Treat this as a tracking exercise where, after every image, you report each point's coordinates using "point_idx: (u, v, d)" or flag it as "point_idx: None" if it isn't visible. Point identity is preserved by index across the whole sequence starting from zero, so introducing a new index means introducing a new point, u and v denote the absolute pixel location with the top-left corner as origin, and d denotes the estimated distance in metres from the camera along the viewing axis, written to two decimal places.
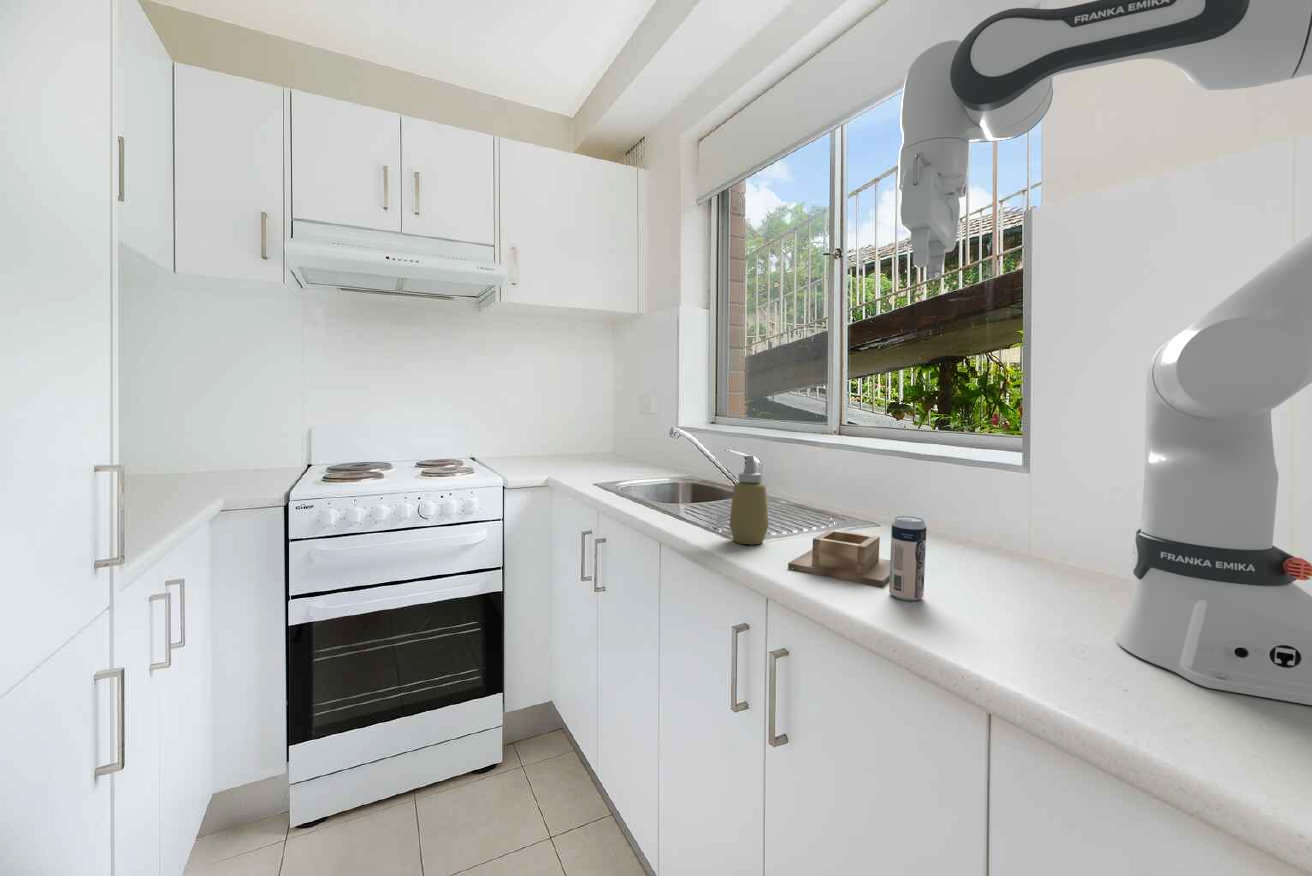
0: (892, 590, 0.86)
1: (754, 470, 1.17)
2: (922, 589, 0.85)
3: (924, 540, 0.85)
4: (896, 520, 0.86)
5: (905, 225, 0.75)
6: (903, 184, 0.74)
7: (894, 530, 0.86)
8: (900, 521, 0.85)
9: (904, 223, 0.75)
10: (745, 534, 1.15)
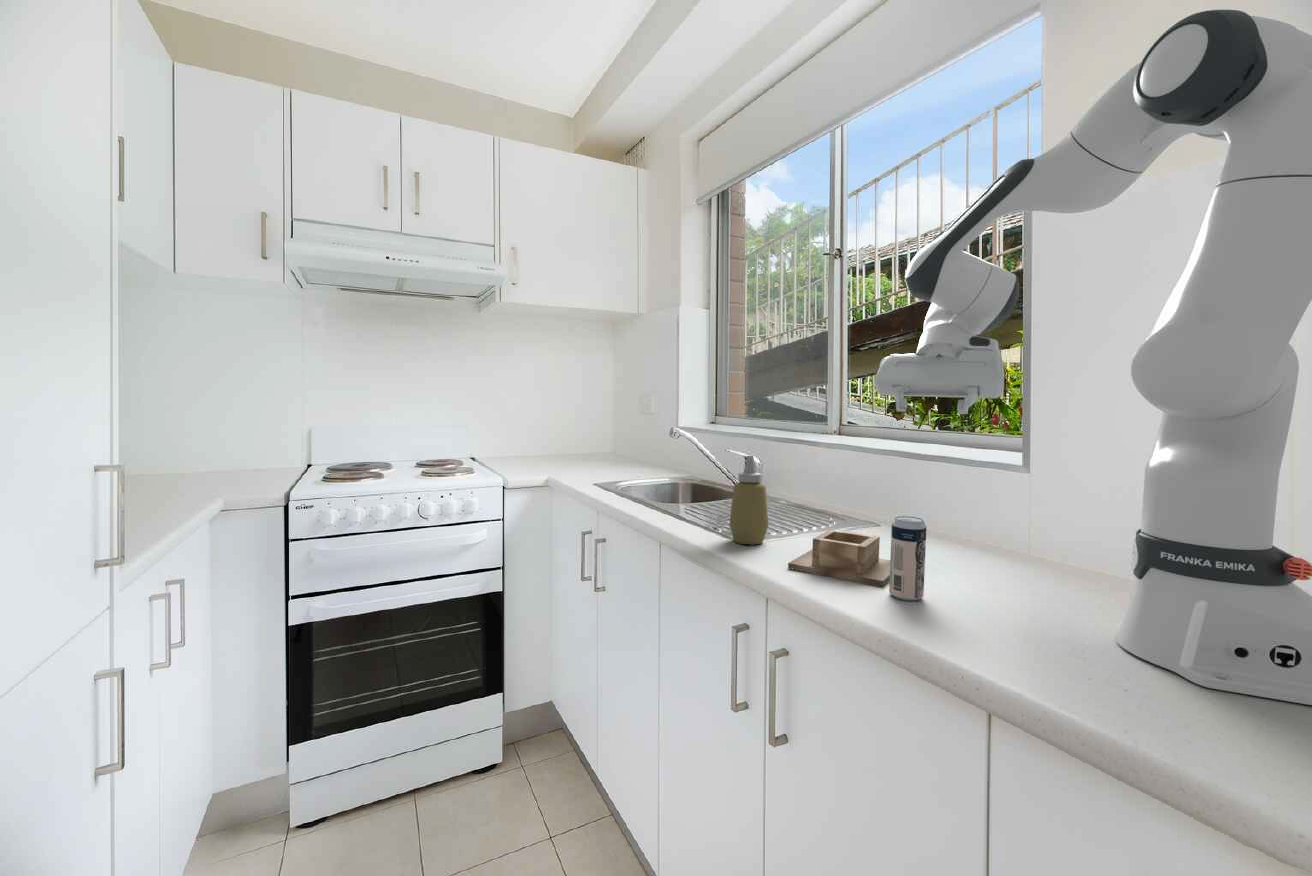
0: (892, 590, 0.86)
1: (754, 470, 1.17)
2: (922, 589, 0.85)
3: (924, 540, 0.85)
4: (896, 520, 0.86)
5: (882, 394, 1.04)
6: None
7: (894, 530, 0.86)
8: (900, 521, 0.85)
9: (879, 393, 1.05)
10: (745, 534, 1.15)
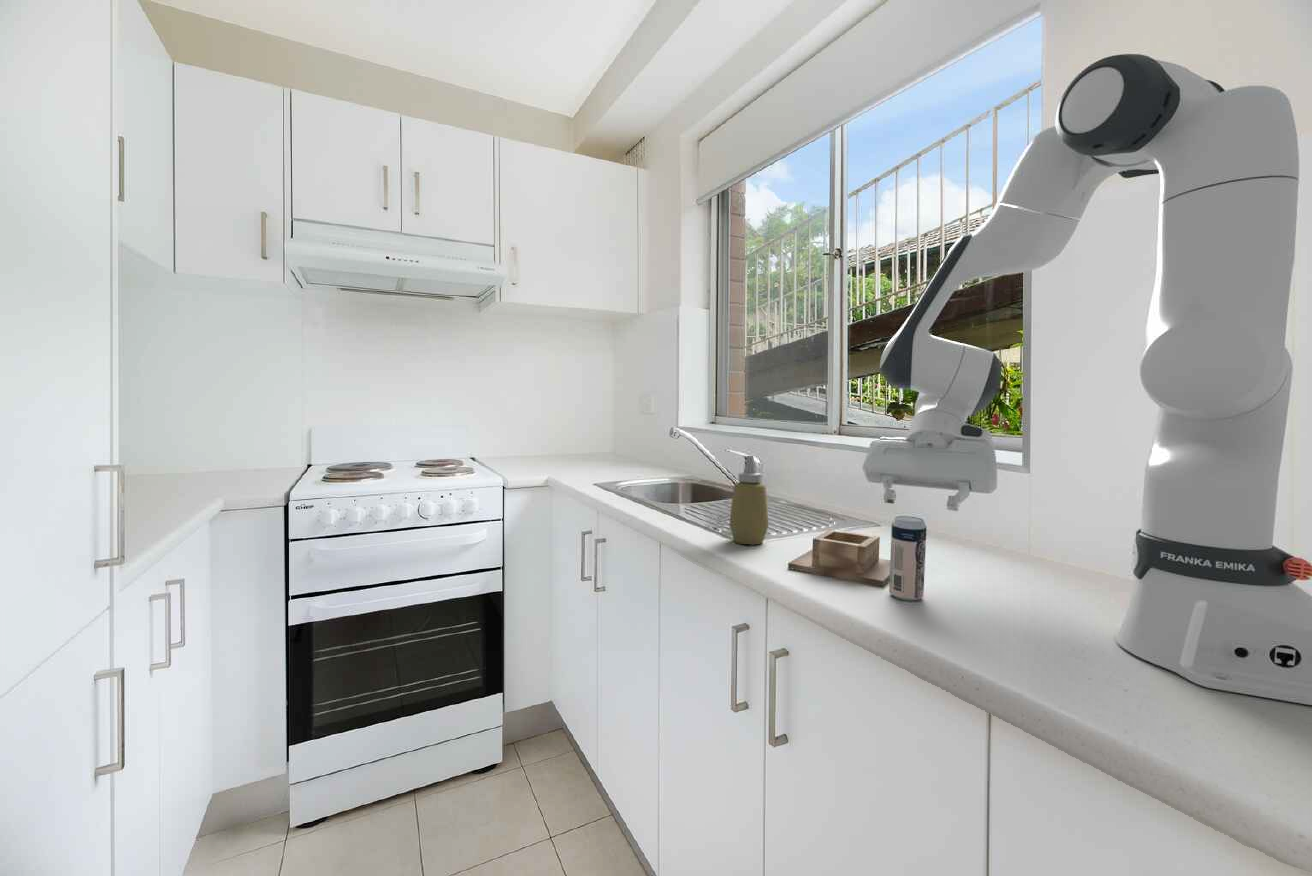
0: (892, 590, 0.86)
1: (754, 470, 1.17)
2: (922, 589, 0.85)
3: (924, 540, 0.85)
4: (896, 520, 0.86)
5: (870, 481, 1.00)
6: None
7: (894, 530, 0.86)
8: (900, 521, 0.85)
9: None
10: (745, 534, 1.15)
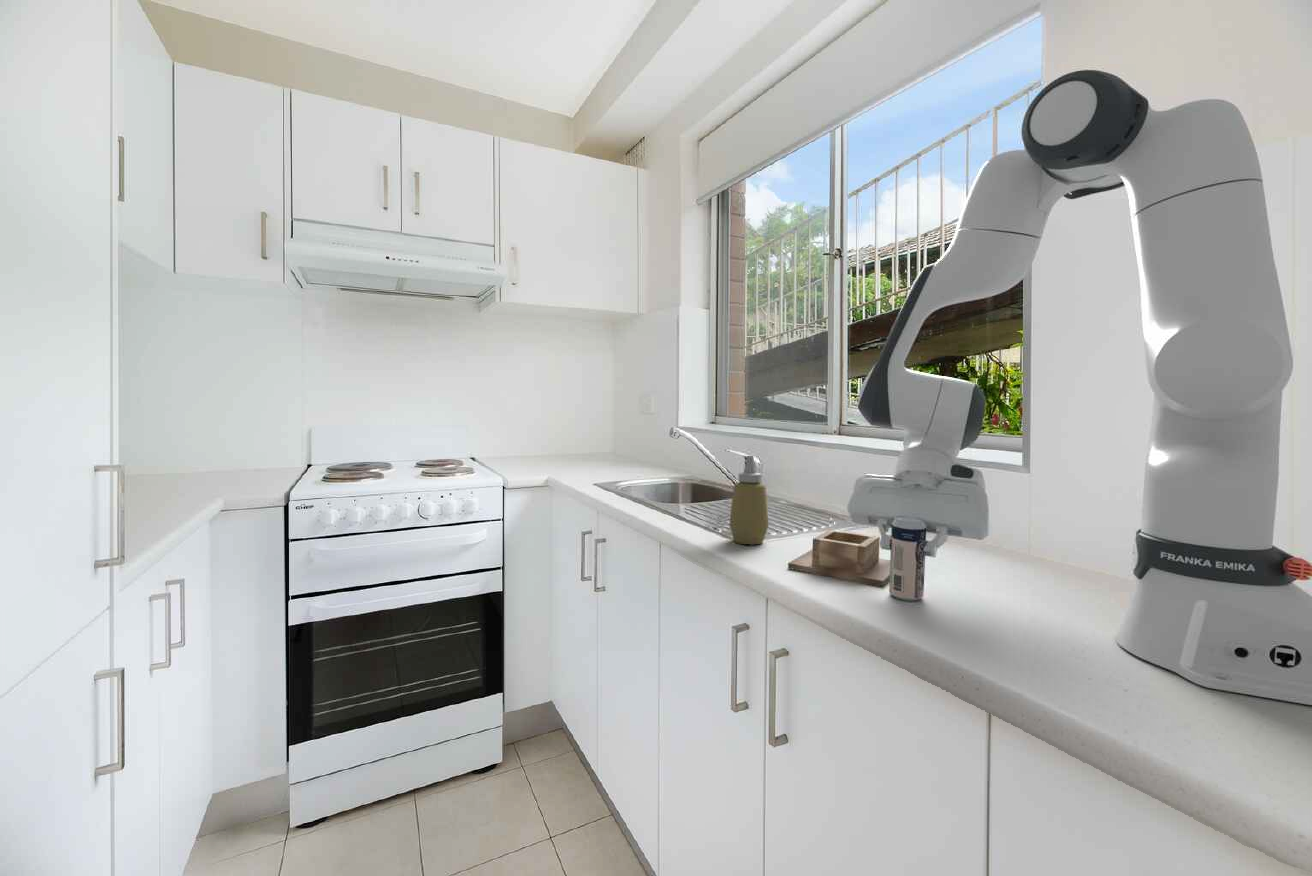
0: (892, 590, 0.86)
1: (754, 470, 1.17)
2: (922, 589, 0.85)
3: (924, 540, 0.85)
4: (896, 520, 0.86)
5: (856, 522, 0.94)
6: None
7: (894, 530, 0.86)
8: (900, 521, 0.85)
9: (853, 521, 0.95)
10: (745, 534, 1.15)
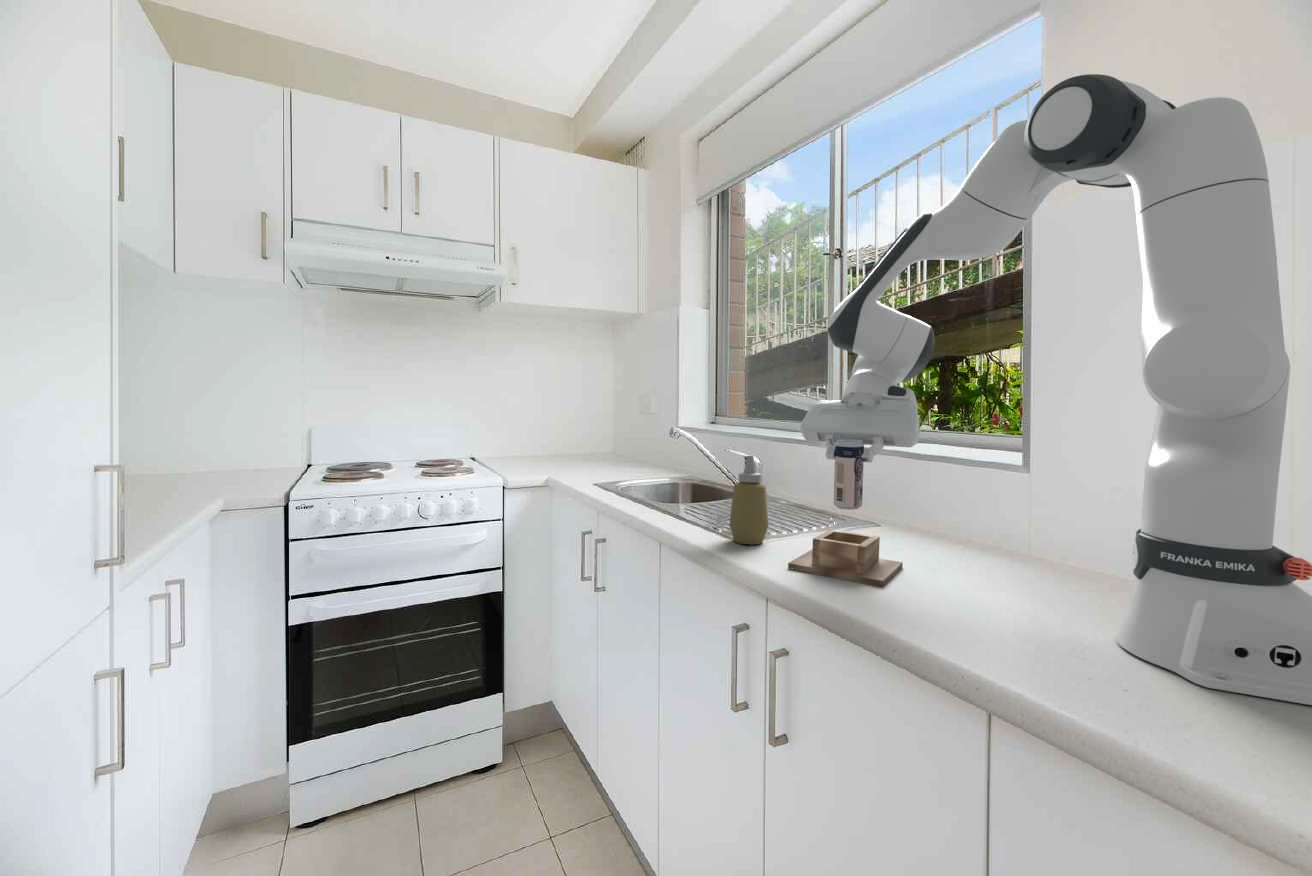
0: (835, 501, 1.00)
1: (754, 470, 1.17)
2: (861, 499, 0.99)
3: None
4: (838, 441, 0.99)
5: (808, 440, 1.08)
6: None
7: (836, 449, 0.99)
8: (841, 441, 0.99)
9: (805, 439, 1.08)
10: (745, 534, 1.15)
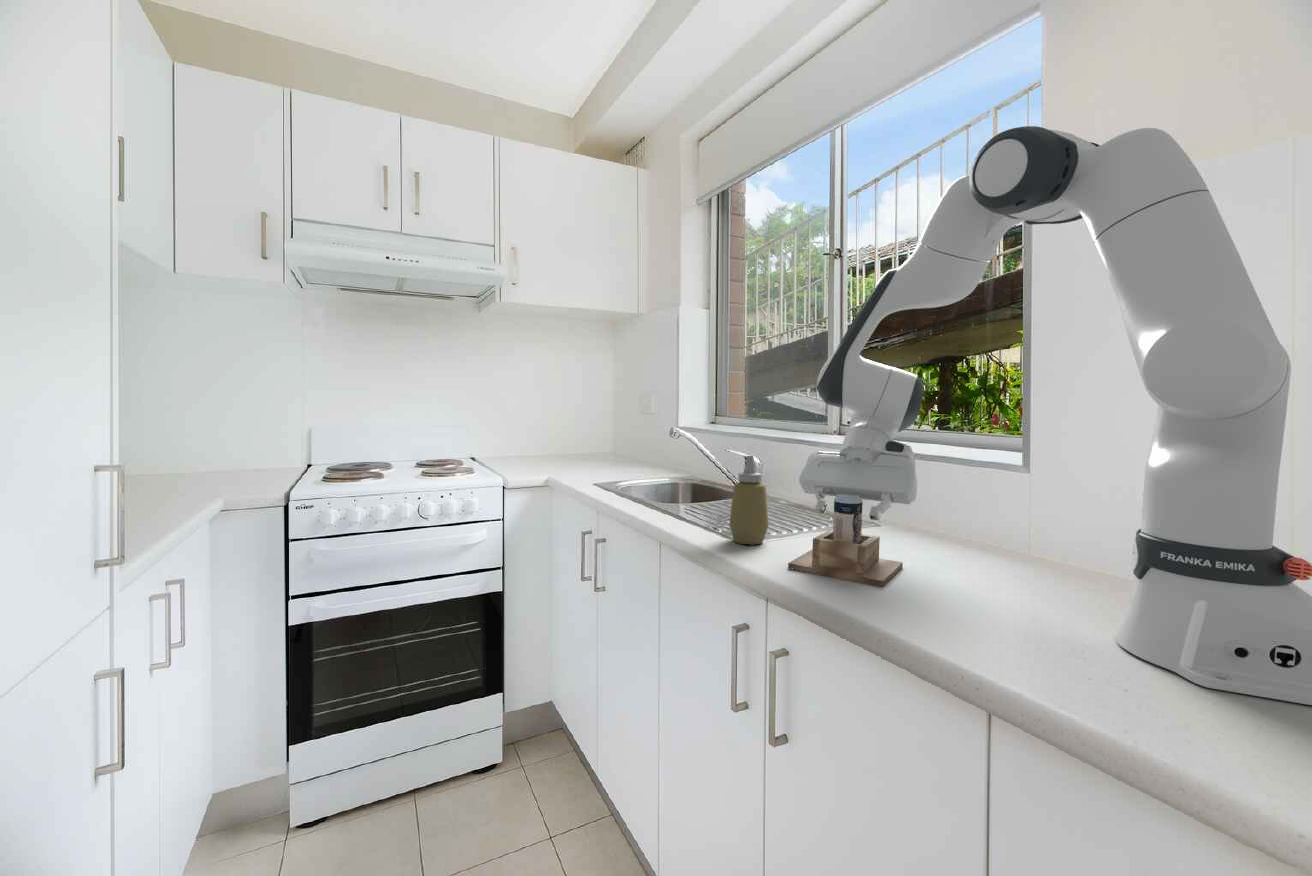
0: None
1: (754, 470, 1.17)
2: None
3: (860, 513, 0.99)
4: (837, 496, 1.00)
5: (806, 492, 1.08)
6: None
7: (835, 505, 1.00)
8: (840, 497, 1.00)
9: (804, 491, 1.09)
10: (745, 534, 1.15)
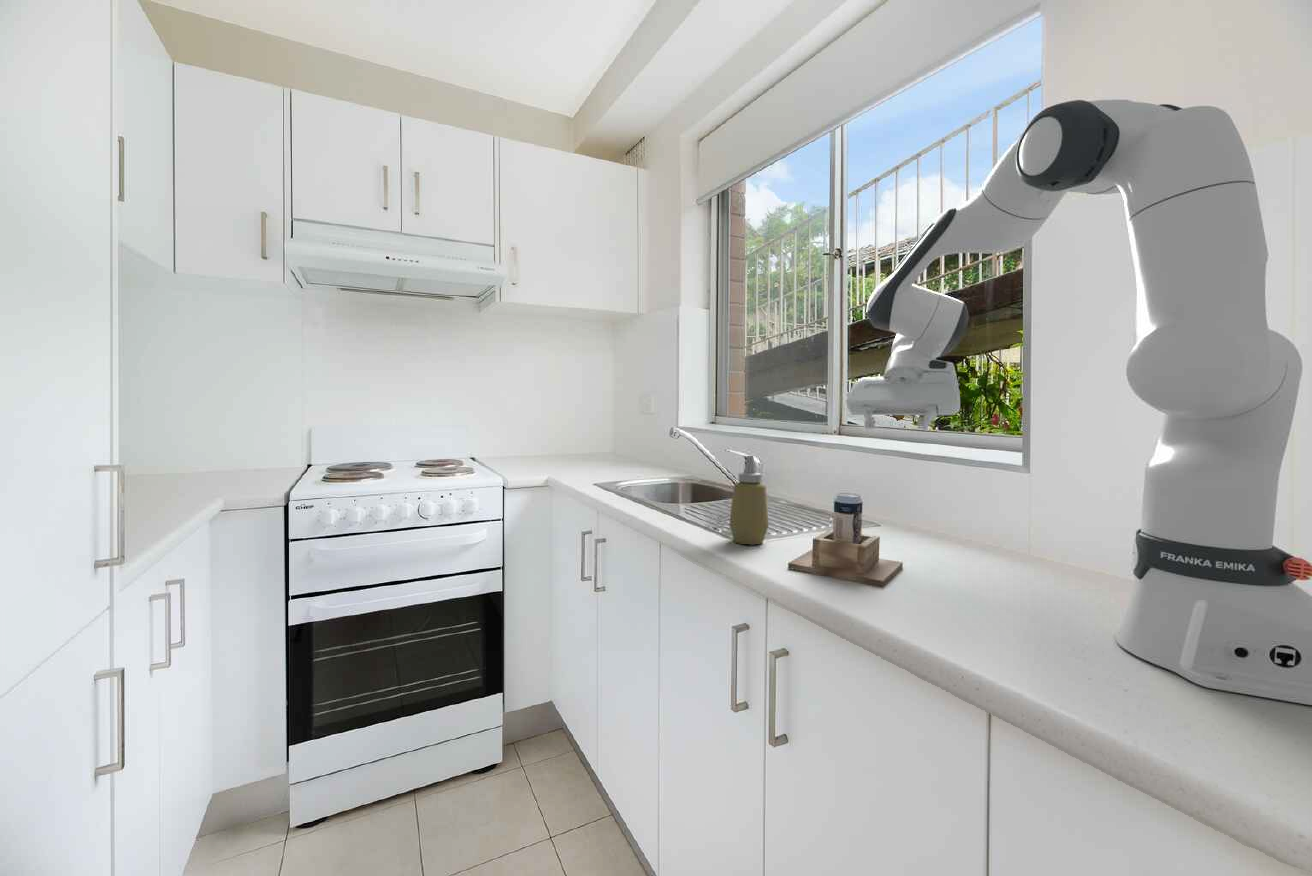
0: None
1: (754, 470, 1.17)
2: None
3: (860, 513, 0.99)
4: (837, 496, 1.00)
5: (853, 413, 1.16)
6: None
7: (835, 505, 1.00)
8: (840, 497, 1.00)
9: (851, 413, 1.16)
10: (745, 534, 1.15)
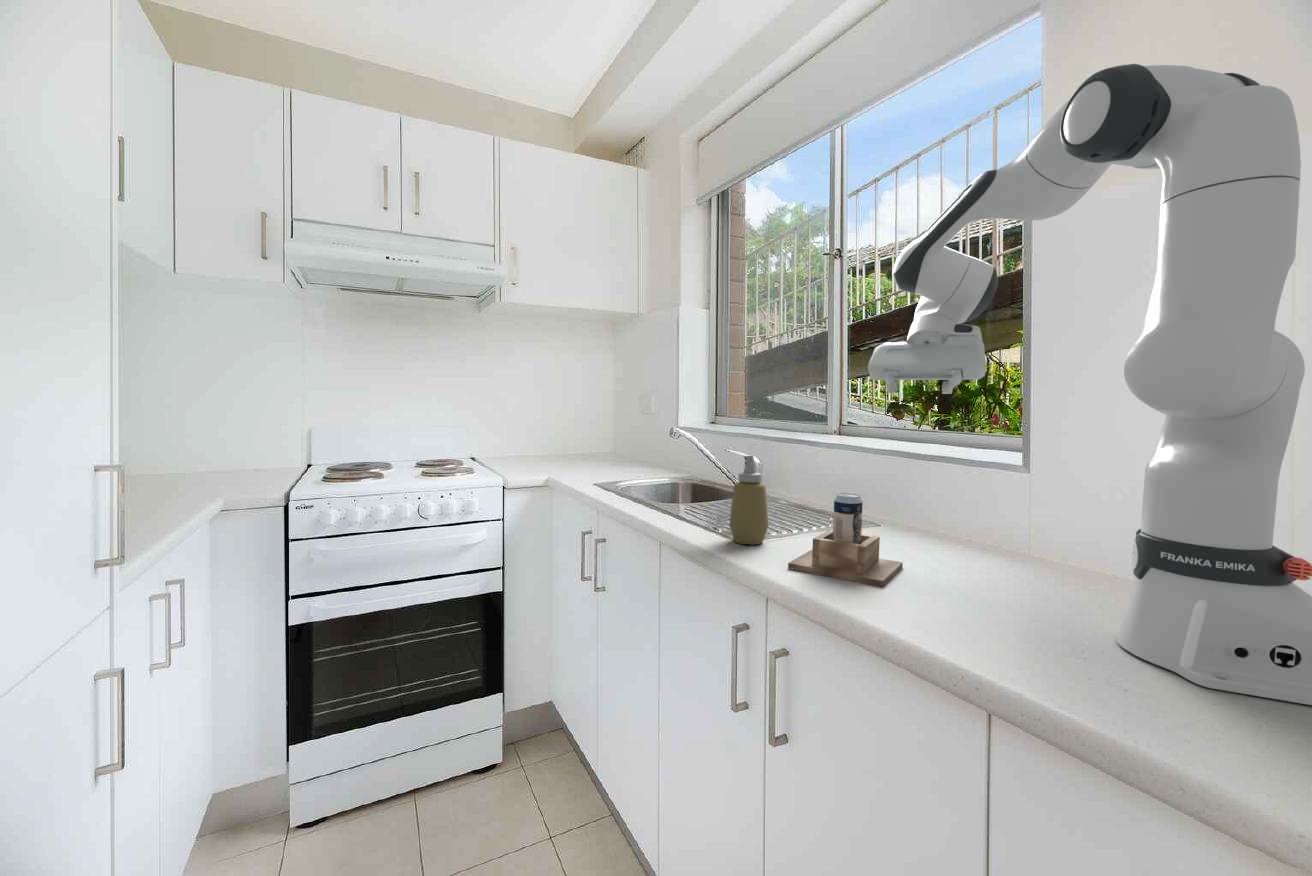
0: None
1: (754, 470, 1.17)
2: None
3: (860, 513, 0.99)
4: (837, 496, 1.00)
5: (875, 379, 1.14)
6: None
7: (835, 505, 1.00)
8: (840, 497, 1.00)
9: (872, 378, 1.14)
10: (745, 534, 1.15)
